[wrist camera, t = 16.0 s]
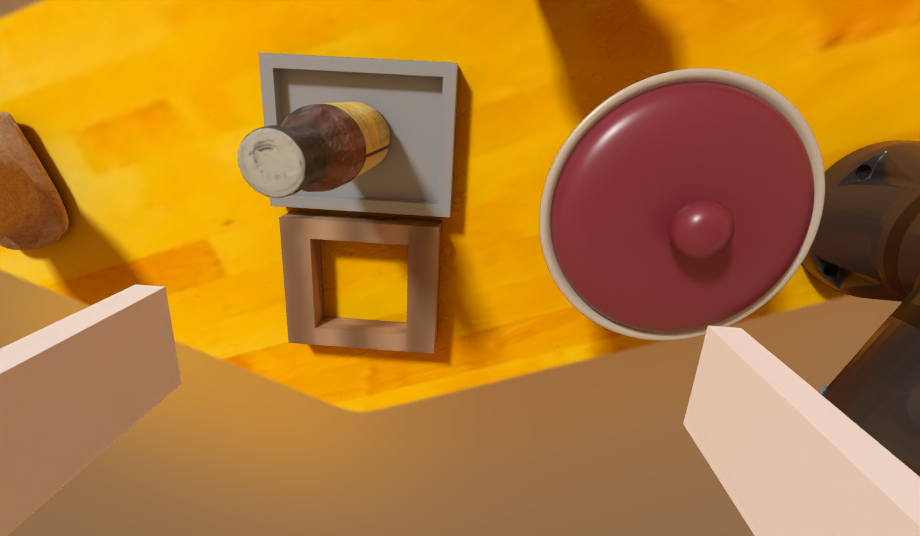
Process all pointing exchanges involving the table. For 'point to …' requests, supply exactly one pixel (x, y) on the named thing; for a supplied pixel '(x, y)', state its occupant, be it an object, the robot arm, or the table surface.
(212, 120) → the table surface
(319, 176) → the sauce bottle
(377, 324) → the bottle stand
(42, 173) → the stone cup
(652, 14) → the table surface
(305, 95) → the tray
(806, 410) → the robot arm
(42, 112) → the table surface
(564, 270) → the canister
